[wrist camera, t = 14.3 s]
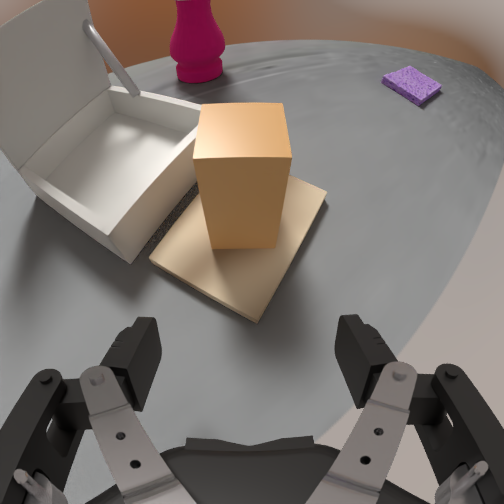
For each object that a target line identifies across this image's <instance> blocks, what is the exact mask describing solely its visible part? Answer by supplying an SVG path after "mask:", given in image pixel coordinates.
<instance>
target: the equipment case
mask: <svg viewBox="0 0 504 504" xmlns="http://www.w3.org/2000/svg"><path fill="white" fill-rule="evenodd" d="M102 57H103V58H104V60H105V61H106V62H107V64H108V65H109V66H110V67H111V69H112V70H113V72H114V73H115V75H116V76H117V77H118V79H119V80H120V81H121V83H122V84H123V85H124V87H125V88H123V87H117V86H111V83H110V80H109V77H108V74H107V71H106V68H105V64H104V61H103V58H102ZM201 106H202V105H199V104H196V103H192V102H188V101H184V100H180V99H176V98H172V97H167V96H163V95H158V94H154V93H149V92H144V91H140V90H139V89H138V88H137V86H136V85H135V83H134V82H133V81H132V79H131V78H130V77H129V75H128V74H127V72H126V71H125V70H124V68H123V67H122V66H121V64H120V63H119V61H118V60H117V59H116V58H115V56H114V55H113V53H112V52H111V50H110V49H109V48H108V47H107V45H106V44H105V42H104V41H103V40H102V38H101V37H100V35H99V34H98V33H97V31H96V30H95V28H94V26H93V22H92V17H91V13H90V9H89V5H88V1H87V0H43V1H41V2H39V3H37V4H36V5H34V6H32V7H30V8H29V9H27V10H25V11H23V12H22V13H20V14H19V15H17V16H15V17H14V18H12V19H11V20H9V21H8V22H6V23H5V24H3V25H2V26H0V149H1V150H2V152H3V153H4V154H5V156H6V157H7V159H8V160H9V161H10V163H11V164H12V166H13V167H14V168H15V169H16V170H17V171H18V173H19V174H20V175H21V177H22V178H23V179H24V180H25V182H26V183H27V184H28V186H29V187H30V188H31V189H32V191H33V192H34V193H35V194H36V196H38V197H39V198H40V199H41V200H43V201H44V202H45V203H47V204H48V205H49V206H50V207H52V208H53V209H54V210H55V211H57V212H58V213H59V214H61V215H62V216H63V217H65V218H66V219H67V220H69V221H70V222H71V223H73V224H74V225H75V226H77V227H78V228H79V229H81V230H82V231H83V232H85V233H86V234H88V235H89V236H90V237H92V238H93V239H95V240H96V241H97V242H99V243H100V244H102V245H103V246H104V247H106V248H107V249H109V250H110V251H112V252H113V253H115V254H116V255H117V256H119V257H120V258H122V259H123V260H125V261H126V262H128V263H129V264H132V262H133V261H134V259H135V258H136V257H137V255H138V254H139V253H140V251H141V250H142V249H143V247H144V246H145V245H146V243H147V242H148V241H149V239H150V238H151V237H152V236H153V234H154V233H155V232H156V230H157V229H158V228H159V226H160V225H161V224H162V223H163V221H164V220H165V219H166V218H167V216H168V215H169V214H170V213H171V211H172V210H173V209H174V208H175V206H176V205H177V204H178V203H179V202H180V200H181V199H182V198H183V197H184V196H185V194H186V193H187V192H188V191H189V190H190V188H191V187H192V186H193V185H194V184H195V183H196V181H197V178H196V173H195V168H194V163H193V153H194V147H195V140H196V134H197V128H198V123H199V117H200V111H201Z"/></svg>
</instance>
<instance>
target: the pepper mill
mask: <svg viewBox="0 0 504 504" xmlns="http://www.w3.org/2000/svg"><path fill="white" fill-rule="evenodd" d="M176 5H177V22H176V26H175V29H174V32H173V35H172V37H171V41H170V55H171V57H172V58H173V59H174V60H175V61H176V62H178V64H177V66H176V70H177V76H178V79H179V80H181V81H183V82H186V83H202V82H207V81H210V80H213V79H215V78H217V77H218V76H220V74H221V73H222V60H221V59H220V58H219V57H220V55H221V54H222V53H223V51H224V50H225V42H224V37H223V34H222V32H221V30H220V28H219V27H218V25H217V24H216V22H215V20H214V18H213V16H212V12H211V7H210V0H176Z"/></svg>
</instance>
